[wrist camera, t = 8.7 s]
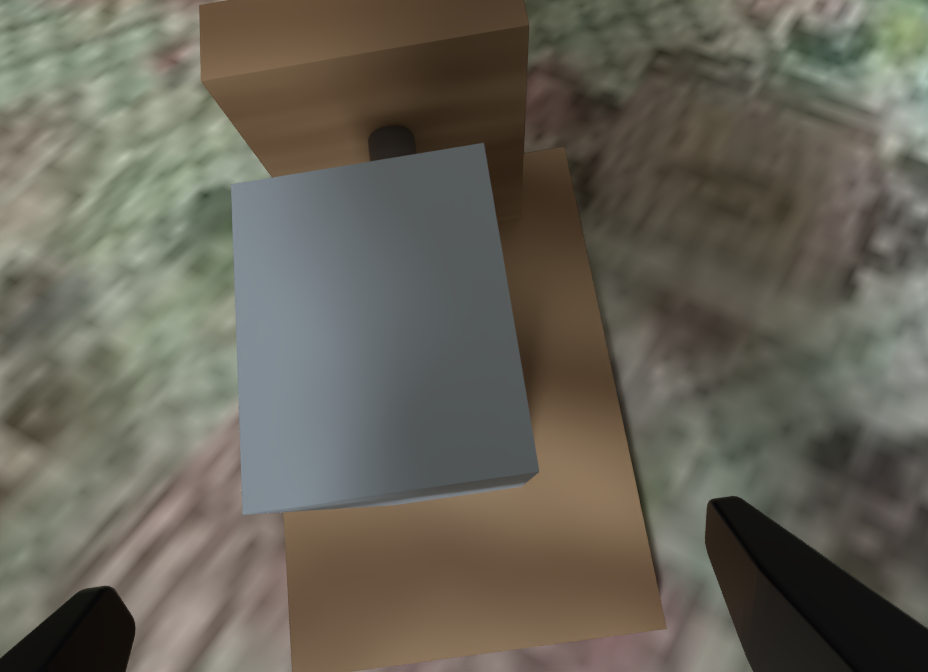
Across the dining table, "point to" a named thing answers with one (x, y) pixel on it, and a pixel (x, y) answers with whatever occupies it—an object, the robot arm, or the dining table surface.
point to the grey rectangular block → (376, 337)
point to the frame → (536, 323)
